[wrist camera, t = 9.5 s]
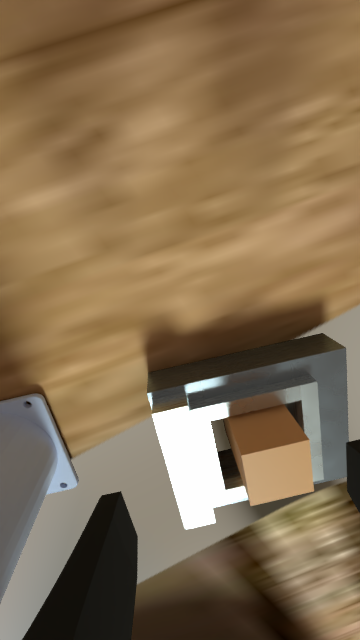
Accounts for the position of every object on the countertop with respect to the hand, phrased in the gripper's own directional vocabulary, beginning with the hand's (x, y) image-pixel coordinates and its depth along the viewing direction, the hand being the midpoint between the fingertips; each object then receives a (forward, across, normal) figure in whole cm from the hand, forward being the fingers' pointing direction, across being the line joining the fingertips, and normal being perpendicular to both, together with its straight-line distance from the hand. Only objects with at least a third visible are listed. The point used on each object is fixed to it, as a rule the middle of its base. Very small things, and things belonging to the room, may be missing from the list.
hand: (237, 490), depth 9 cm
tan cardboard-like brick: (+10, -2, +5) cm, 12 cm away
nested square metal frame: (+10, -2, +6) cm, 12 cm away
